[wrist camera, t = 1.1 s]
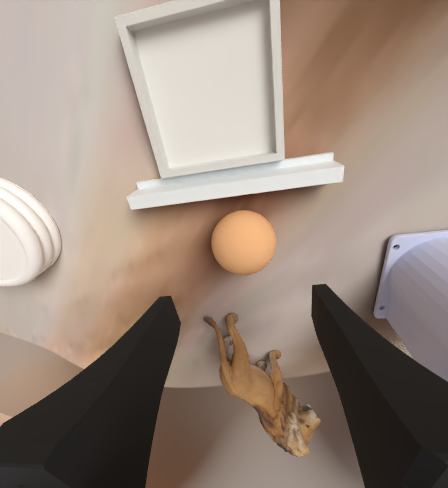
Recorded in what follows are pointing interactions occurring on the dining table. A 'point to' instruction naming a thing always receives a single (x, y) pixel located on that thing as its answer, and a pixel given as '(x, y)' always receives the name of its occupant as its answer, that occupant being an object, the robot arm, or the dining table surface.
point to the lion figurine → (265, 392)
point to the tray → (208, 82)
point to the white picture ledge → (238, 181)
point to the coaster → (25, 236)
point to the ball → (243, 242)
